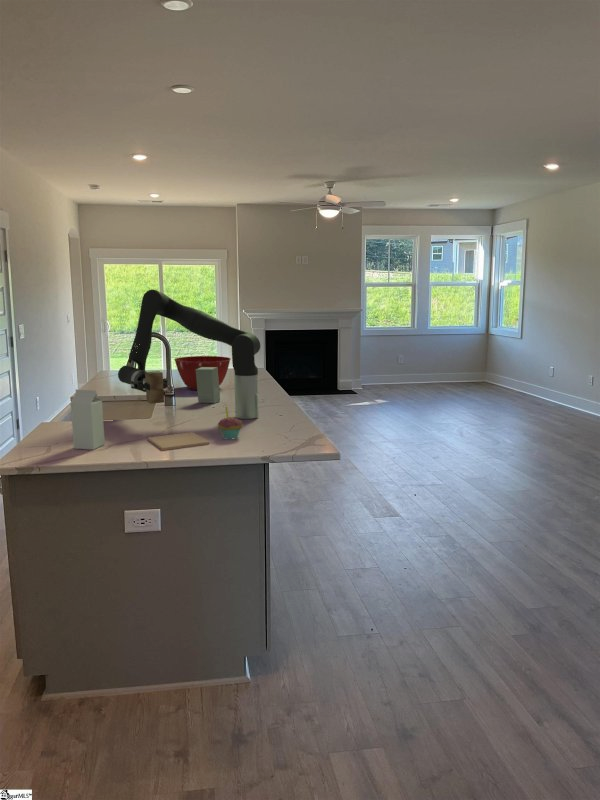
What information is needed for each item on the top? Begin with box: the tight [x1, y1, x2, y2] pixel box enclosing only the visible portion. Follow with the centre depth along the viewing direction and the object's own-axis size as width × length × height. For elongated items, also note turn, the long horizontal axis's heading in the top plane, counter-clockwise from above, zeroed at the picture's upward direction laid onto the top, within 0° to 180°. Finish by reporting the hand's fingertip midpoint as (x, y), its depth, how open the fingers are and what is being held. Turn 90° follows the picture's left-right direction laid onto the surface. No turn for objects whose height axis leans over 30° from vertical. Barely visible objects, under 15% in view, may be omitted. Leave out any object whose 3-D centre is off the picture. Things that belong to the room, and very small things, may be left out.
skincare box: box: [196, 367, 221, 404], centre depth 278 cm, size 8×7×16 cm
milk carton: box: [70, 389, 105, 450], centre depth 201 cm, size 7×7×19 cm
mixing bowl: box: [173, 355, 232, 391], centre depth 317 cm, size 28×28×16 cm
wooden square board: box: [147, 431, 210, 451], centre depth 209 cm, size 16×16×1 cm
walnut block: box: [145, 370, 165, 405], centre depth 226 cm, size 5×5×11 cm
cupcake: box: [217, 405, 243, 440], centre depth 214 cm, size 9×8×12 cm
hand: (156, 386), depth 223 cm, fingers closed on walnut block, 5 cm apart
